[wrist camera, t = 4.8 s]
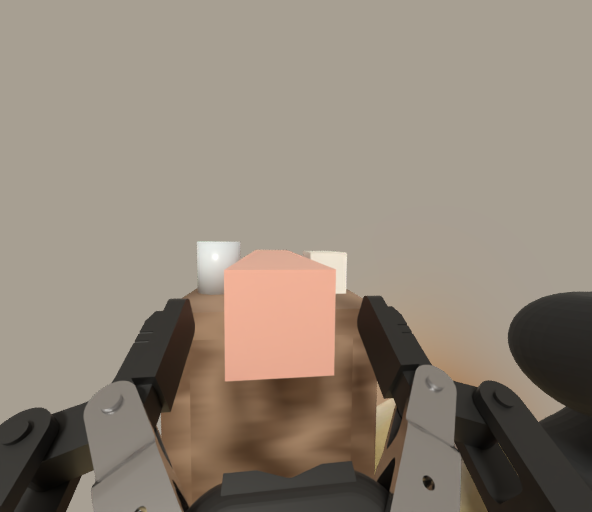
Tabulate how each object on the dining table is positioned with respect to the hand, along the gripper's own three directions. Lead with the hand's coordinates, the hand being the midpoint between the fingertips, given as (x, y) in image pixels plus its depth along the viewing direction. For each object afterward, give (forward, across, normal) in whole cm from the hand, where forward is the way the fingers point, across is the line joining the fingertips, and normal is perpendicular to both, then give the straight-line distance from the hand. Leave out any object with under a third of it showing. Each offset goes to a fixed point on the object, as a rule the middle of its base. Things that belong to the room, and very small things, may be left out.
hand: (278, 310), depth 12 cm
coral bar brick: (+7, 0, +6) cm, 9 cm away
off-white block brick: (+12, -5, +9) cm, 15 cm away
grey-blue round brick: (+12, +5, +9) cm, 15 cm away
